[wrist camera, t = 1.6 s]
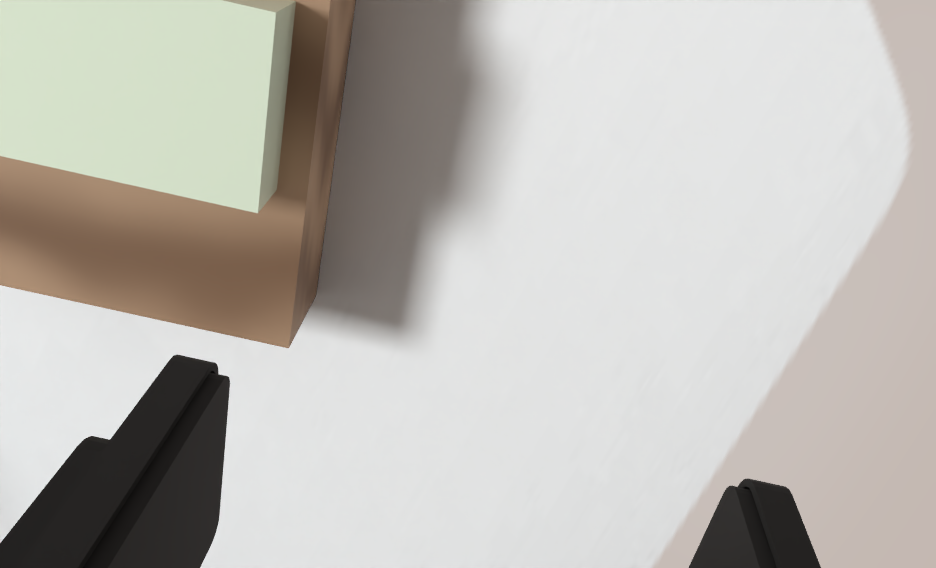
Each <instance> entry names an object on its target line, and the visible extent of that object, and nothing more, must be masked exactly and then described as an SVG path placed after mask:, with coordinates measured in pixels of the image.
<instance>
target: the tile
mask: <svg viewBox="0 0 936 568" xmlns="http://www.w3.org/2000/svg"><path fill="white" fill-rule="evenodd" d="M295 5H296V1H293V0H0V156H3V157H7V158H12V159H16V160H21V161H25V162H30V163H34V164H39V165H43V166H48V167H52V168H57V169H61V170H66V171H70V172H75V173H79V174H84V175H88V176H92V177H97V178H101V179H106V180H110V181H115V182H119V183H124V184H128V185H133V186H137V187H142V188H146V189H151V190H155V191H160V192H164V193H169V194H173V195H178V196H182V197H187V198H191V199H196V200H200V201H205V202H209V203H214V204H218V205H223V206H227V207H232V208H236V209H241V210H245V211H250V212H254V213H259V211H260V210H261V209H262V208H263V206H264V205H265V204H266V203H267V201H268V200H269V199H270V198H271V196H272V195H273V194H274V193H275V191H276V190H277V183H278V173H279V164H280V154H281V144H282V134H283V124H284V114H285V104H286V94H287V84H288V75H289V65H290V55H291V45H292V35H293V25H294V15H295Z"/></svg>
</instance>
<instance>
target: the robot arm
mask: <svg viewBox="0 0 936 568" xmlns="http://www.w3.org/2000/svg"><path fill="white" fill-rule="evenodd" d="M229 387H230V380H229V377H228V376H223V375H219V374H218V366H217V364H216V363H213V362H209V361H204V360H199V359H195V358H190V357H185V356H181V355H175V356H173V357H172V358H171V359H170V360H169V362H168V363H167V364H166V366H165V367H164V368H163V370H162V371H161V372H160V374H159V375H158V377H157V378H156V379H155V381H154V382H153V383H152V385H151V386H150V387H149V389H148V390H147V391H146V393H145V394H144V395H143V397H142V398H141V399H140V401H139V402H138V403H137V405H136V406H135V407H134V409H133V410H132V411H131V413H130V414H129V415H128V417H127V418H126V419H125V421H124V422H123V423H122V425H121V426H120V427H119V429H118V430H117V431H116V433H115V434H114V435H113V437H112V438H111V439H110V440H108V439H103V438H99V437H94V436H90V437H88V438H86V439H84V440H83V441H82V442H81V443H80V444H79V445H78V446H77V447H76V449H75V450H74V451H73V452H72V454H71V455H70V456H69V458H68V459H67V460H66V461H65V463H64V464H63V465H62V466H61V468H60V469H59V470H58V471H57V473H56V474H55V475H54V476H53V478H52V479H51V480H50V481H49V483H48V484H47V485H46V486H45V488H44V489H43V490H42V492H41V493H40V494H39V495H38V497H37V498H36V499H35V500H34V502H33V503H32V504H31V505H30V507H29V508H28V509H27V510H26V512H25V513H24V514H23V515H22V517H21V518H20V519H19V520H18V522H17V523H16V524H15V526H14V527H13V528H12V529H11V531H10V532H9V533H8V534H7V536H6V537H5V538H4V539H3V541H2V542H1V543H0V568H200V567H201V564H202V562H203V560H204V558H205V556H206V554H207V552H208V550H209V548H210V546H211V544H212V541H213V539H214V536H215V533H216V529H217V525H218V521H219V512H220V500H221V487H222V475H223V462H224V450H225V437H226V425H227V412H228V400H229ZM689 568H821V567H820V564H819V562H818V559H817V557H816V554H815V552H814V549H813V547H812V544H811V541H810V539H809V536H808V534H807V531H806V529H805V526H804V524H803V521H802V519H801V516H800V514H799V511H798V509H797V506H796V503H795V501H794V498H793V496H792V494H791V492H790V490H789V489H788V488H786V487H784V486H780V485H775V484H770V483H766V482H761V481H757V480H752V479H744V480H743V481H742V482H741V483H740V484H739V486H738V487H735V486H729V487H728V488H727V489H726V490H725V492H724V494H723V496H722V498H721V500H720V502H719V505H718V506H717V509H716V511H715V513H714V515H713V517H712V519H711V521H710V523H709V526H708V528H707V530H706V532H705V534H704V536H703V538H702V541H701V543H700V545H699V547H698V549H697V551H696V553H695V555H694V557H693V560H692V562H691V564H690V566H689Z"/></svg>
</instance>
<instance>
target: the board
mask: <svg viewBox="0 0 936 568" xmlns="http://www.w3.org/2000/svg"><path fill="white" fill-rule="evenodd" d="M293 1H296V5H295V15H294V25H293V35H292V45H291V55H290V65H289V75H288V84H287V94H286V104H285V114H284V124H283V134H282V144H281V154H280V164H279V173H278V183H277V190H276V191H275V193H274V194H273V195H272V196H271V198H270V199H269V200H268V201H267V203H266V204H265V205H264V206H263V208H262V209H261V210H260V211H259V213H254V212H250V211H245V210H241V209H236V208H232V207H227V206H223V205H218V204H214V203H209V202H205V201H200V200H196V199H191V198H187V197H182V196H178V195H173V194H169V193H164V192H160V191H155V190H151V189H146V188H142V187H137V186H133V185H128V184H124V183H119V182H115V181H110V180H106V179H101V178H97V177H92V176H88V175H84V174H79V173H75V172H70V171H66V170H61V169H57V168H52V167H48V166H43V165H39V164H34V163H30V162H25V161H21V160H16V159H12V158H7V157H3V156H0V285H2V286H7V287H11V288H16V289H21V290H25V291H30V292H34V293H39V294H43V295H48V296H53V297H57V298H62V299H66V300H71V301H75V302H80V303H85V304H89V305H94V306H98V307H103V308H107V309H112V310H117V311H121V312H126V313H130V314H135V315H139V316H144V317H149V318H153V319H158V320H162V321H167V322H171V323H176V324H180V325H185V326H190V327H194V328H199V329H203V330H208V331H212V332H217V333H222V334H226V335H231V336H235V337H240V338H244V339H249V340H254V341H258V342H263V343H267V344H272V345H276V346H281V347H286V348H289V347H290V345H291V343H292V341H293V339H294V337H295V335H296V333H297V331H298V329H299V327H300V325H301V324H302V322H303V320H304V318H305V316H306V314H307V312H308V310H309V308H310V306H311V304H312V302H313V300H314V299H315V297H316V292H317V285H318V277H319V270H320V262H321V255H322V247H323V240H324V233H325V225H326V218H327V210H328V203H329V195H330V188H331V181H332V173H333V166H334V158H335V151H336V144H337V136H338V129H339V121H340V114H341V106H342V99H343V92H344V84H345V77H346V69H347V62H348V54H349V47H350V40H351V32H352V25H353V17H354V10H355V2H356V0H293Z"/></svg>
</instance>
